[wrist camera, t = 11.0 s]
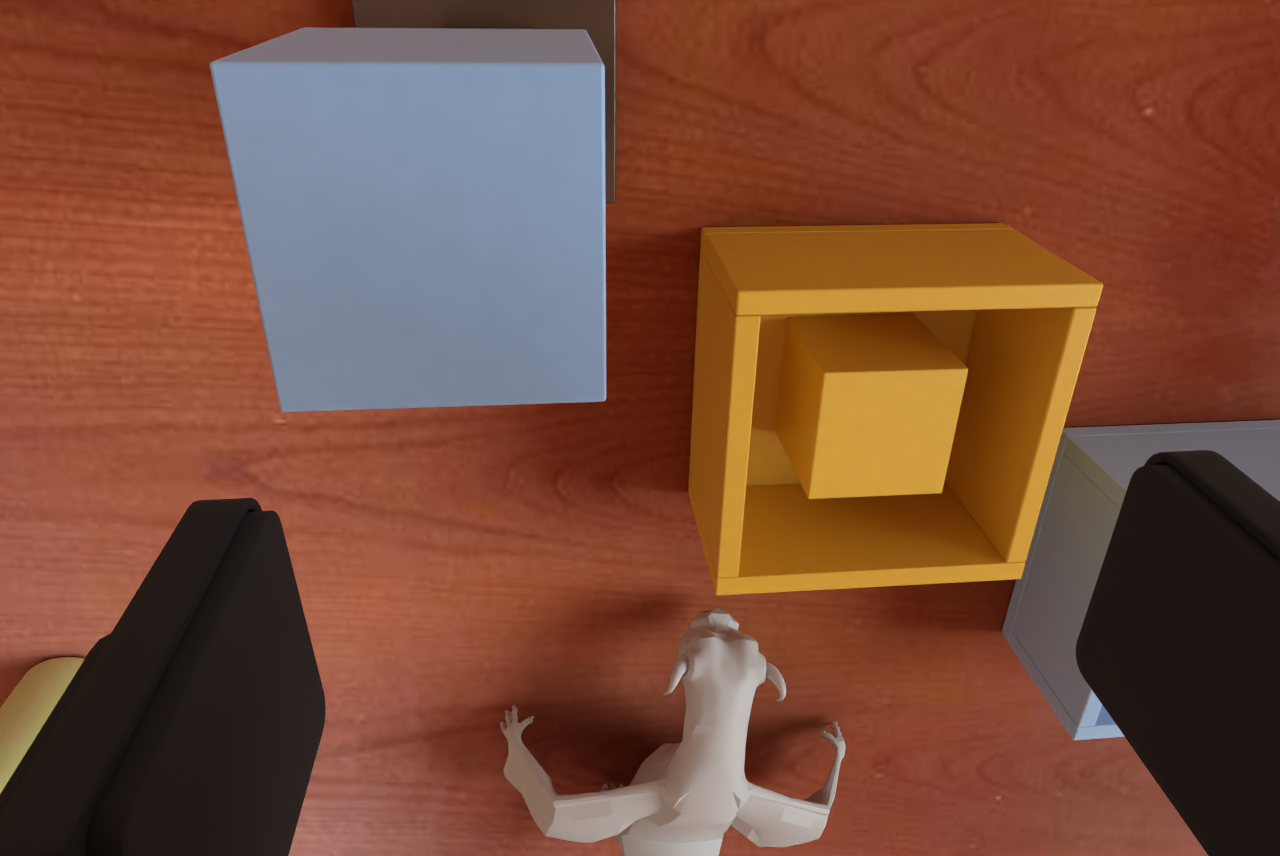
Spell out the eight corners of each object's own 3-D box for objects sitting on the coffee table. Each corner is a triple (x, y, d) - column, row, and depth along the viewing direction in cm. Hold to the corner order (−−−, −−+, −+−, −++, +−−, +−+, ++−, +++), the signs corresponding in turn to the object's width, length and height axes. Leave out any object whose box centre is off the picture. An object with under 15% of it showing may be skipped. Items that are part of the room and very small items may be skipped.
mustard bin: (700, 227, 32) (736, 291, 26) (1004, 222, 33) (1105, 283, 27) (687, 493, 38) (715, 596, 32) (948, 482, 39) (1021, 579, 33)
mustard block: (786, 316, 33) (823, 373, 29) (914, 313, 34) (969, 368, 30) (774, 431, 36) (807, 500, 32) (894, 427, 36) (942, 493, 32)
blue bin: (1057, 427, 38) (1152, 517, 32) (1305, 418, 39) (1442, 503, 33) (1000, 632, 44) (1072, 741, 38) (1219, 619, 45) (1322, 723, 39)
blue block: (300, 26, 15) (206, 60, 11) (587, 29, 16) (604, 63, 12) (342, 298, 18) (279, 414, 13) (590, 292, 18) (606, 403, 14)
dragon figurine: (866, 734, 47) (943, 882, 38) (639, 884, 49) (662, 1057, 40) (707, 546, 42) (754, 668, 33) (460, 723, 44) (442, 881, 35)
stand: (349, -68, 27) (191, -74, 15) (613, -63, 28) (672, -66, 15) (383, 197, 31) (280, 367, 18) (613, 194, 31) (660, 357, 19)
